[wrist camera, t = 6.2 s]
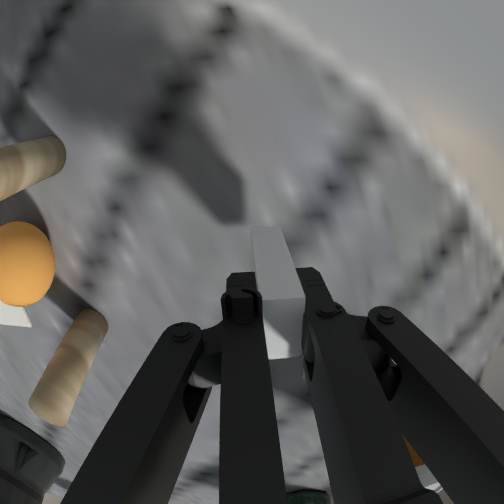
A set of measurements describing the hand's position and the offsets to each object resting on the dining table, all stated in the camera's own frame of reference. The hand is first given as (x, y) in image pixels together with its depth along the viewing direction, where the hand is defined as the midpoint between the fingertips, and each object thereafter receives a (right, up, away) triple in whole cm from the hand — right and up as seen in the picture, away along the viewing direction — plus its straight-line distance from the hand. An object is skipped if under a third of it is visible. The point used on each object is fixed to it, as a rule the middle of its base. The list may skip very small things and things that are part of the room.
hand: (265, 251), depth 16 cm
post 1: (-13, +6, -1) cm, 15 cm away
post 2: (-13, -5, +5) cm, 15 cm away
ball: (-16, -1, -1) cm, 16 cm away
